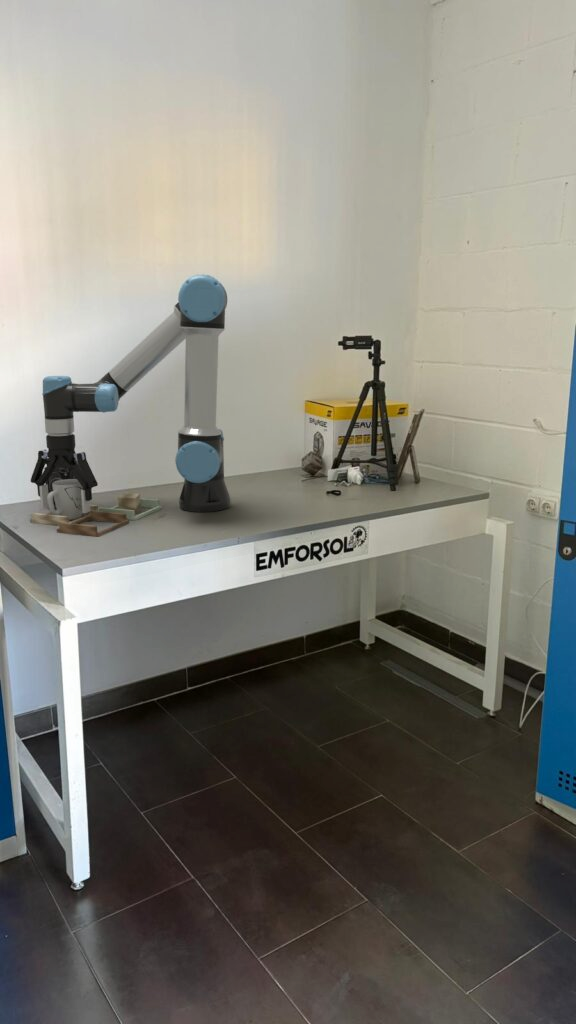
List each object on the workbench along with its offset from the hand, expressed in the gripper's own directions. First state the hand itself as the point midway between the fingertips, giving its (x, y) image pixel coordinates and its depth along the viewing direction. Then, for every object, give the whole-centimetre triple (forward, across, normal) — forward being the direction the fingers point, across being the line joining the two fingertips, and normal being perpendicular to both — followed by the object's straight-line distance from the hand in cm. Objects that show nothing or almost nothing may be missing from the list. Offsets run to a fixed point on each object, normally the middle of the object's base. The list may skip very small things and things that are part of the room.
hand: (65, 510), depth 214 cm
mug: (+2, 0, 0) cm, 2 cm away
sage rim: (+2, -13, -12) cm, 18 cm away
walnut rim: (+2, -13, +6) cm, 15 cm away
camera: (+2, +8, -12) cm, 15 cm away
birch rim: (+2, 0, 0) cm, 2 cm away
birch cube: (+2, -13, -12) cm, 18 cm away
